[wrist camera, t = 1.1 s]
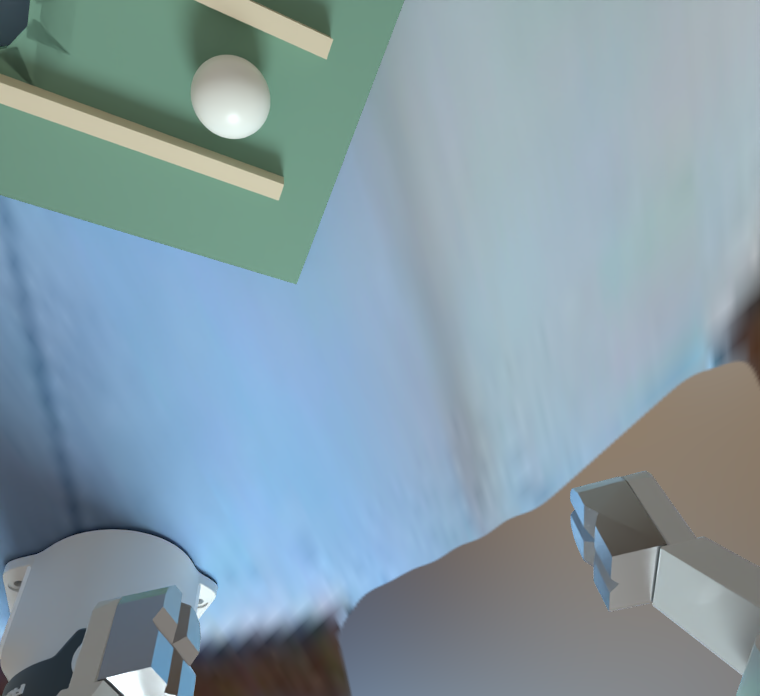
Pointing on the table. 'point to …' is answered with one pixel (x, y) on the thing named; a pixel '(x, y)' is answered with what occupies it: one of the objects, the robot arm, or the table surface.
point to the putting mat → (188, 119)
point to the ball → (230, 96)
